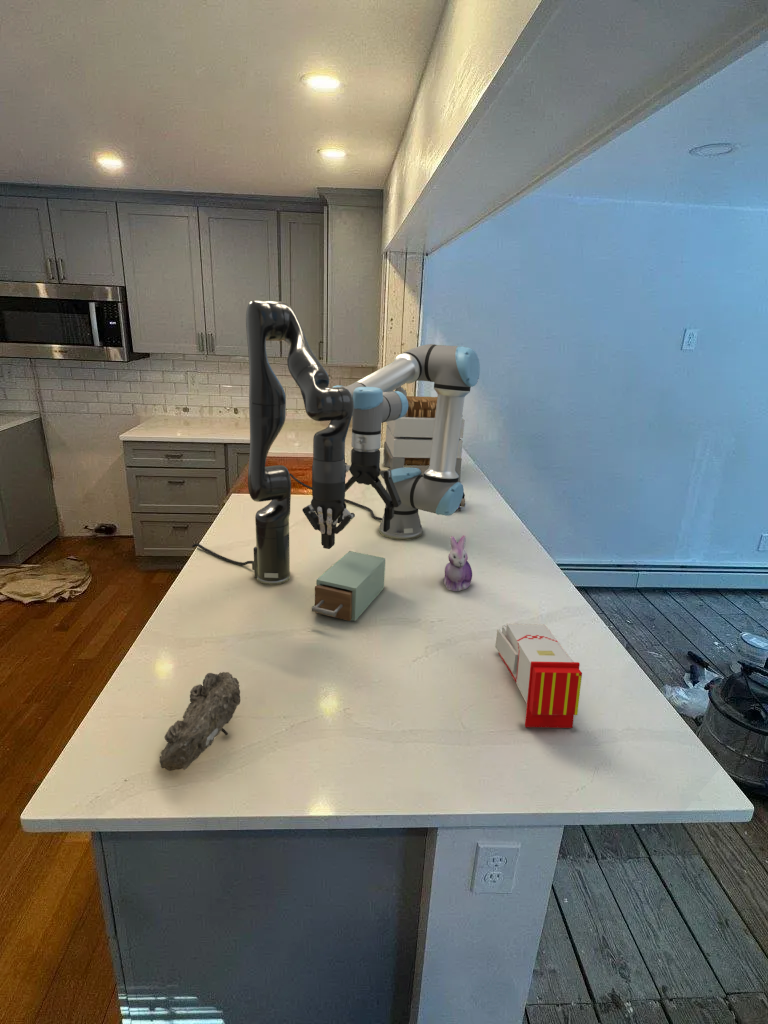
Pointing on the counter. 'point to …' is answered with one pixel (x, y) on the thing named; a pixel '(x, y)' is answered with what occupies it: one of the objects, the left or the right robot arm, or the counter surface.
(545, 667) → the toy
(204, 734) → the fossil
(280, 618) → the counter surface
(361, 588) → the cabinet
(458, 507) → the figurine character
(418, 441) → the white wooden crate
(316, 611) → the drawer
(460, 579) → the figurine
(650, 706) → the counter surface
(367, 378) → the right robot arm
